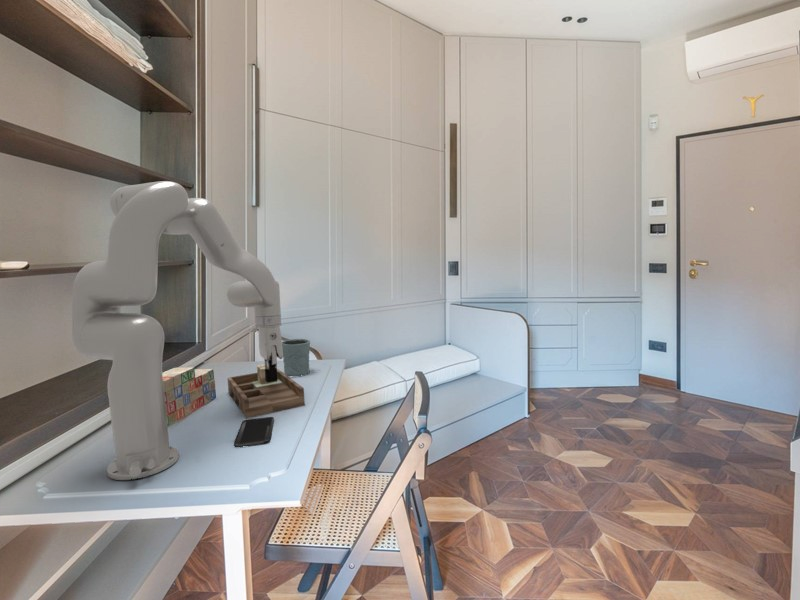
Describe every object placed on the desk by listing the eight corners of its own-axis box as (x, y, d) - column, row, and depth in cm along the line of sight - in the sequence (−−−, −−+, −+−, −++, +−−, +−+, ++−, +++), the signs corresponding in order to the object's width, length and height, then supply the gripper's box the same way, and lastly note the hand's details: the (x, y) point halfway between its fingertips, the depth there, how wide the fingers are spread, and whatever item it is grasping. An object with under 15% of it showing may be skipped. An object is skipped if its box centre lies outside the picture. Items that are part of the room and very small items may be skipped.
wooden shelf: (304, 405, 118) (303, 388, 118) (246, 418, 110) (244, 400, 109) (279, 383, 140) (278, 369, 140) (228, 393, 132) (227, 377, 131)
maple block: (277, 381, 134) (276, 366, 133) (261, 384, 131) (260, 369, 131) (273, 378, 138) (272, 363, 137) (257, 380, 135) (256, 365, 135)
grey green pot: (288, 370, 157) (286, 339, 156) (314, 369, 156) (312, 338, 155) (279, 378, 147) (277, 344, 146) (307, 377, 146) (305, 343, 145)
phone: (232, 445, 92) (242, 419, 107) (233, 449, 92) (243, 424, 107) (269, 440, 94) (274, 416, 109) (270, 445, 94) (274, 420, 109)
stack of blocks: (197, 398, 128) (194, 359, 127) (216, 398, 127) (213, 359, 126) (147, 426, 107) (142, 379, 106) (169, 426, 106) (165, 379, 105)
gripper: (287, 322, 120) (291, 384, 122) (274, 318, 133) (277, 374, 135) (261, 325, 117) (265, 389, 118) (249, 320, 129) (253, 378, 131)
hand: (271, 381), depth 126 cm, fingers closed
